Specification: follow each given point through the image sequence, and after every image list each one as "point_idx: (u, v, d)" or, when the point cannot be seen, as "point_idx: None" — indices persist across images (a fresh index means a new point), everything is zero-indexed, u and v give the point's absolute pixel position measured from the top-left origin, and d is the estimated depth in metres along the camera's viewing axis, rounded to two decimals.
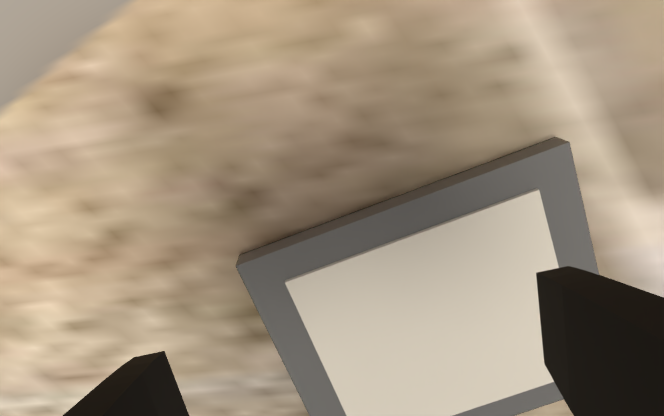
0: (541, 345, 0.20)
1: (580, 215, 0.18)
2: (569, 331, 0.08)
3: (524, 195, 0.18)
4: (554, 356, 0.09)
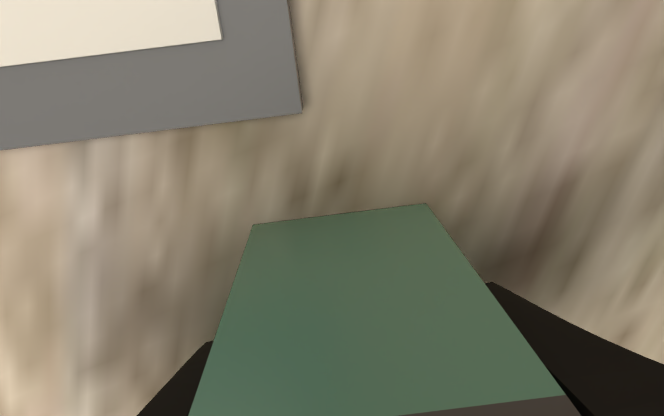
0: None
1: None
2: None
3: None
4: None
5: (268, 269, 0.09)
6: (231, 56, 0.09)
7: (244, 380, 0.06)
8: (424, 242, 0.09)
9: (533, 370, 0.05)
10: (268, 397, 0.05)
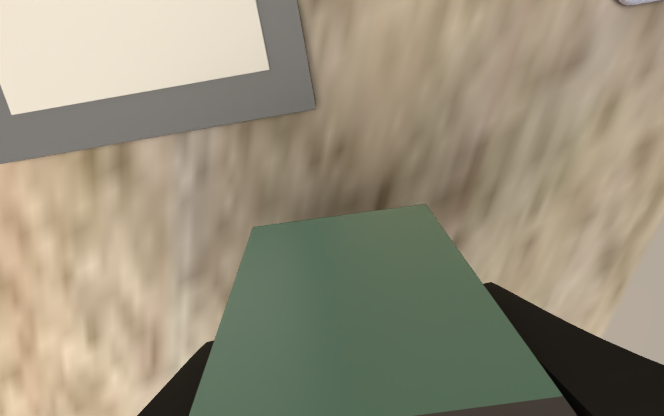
0: None
1: None
2: None
3: None
4: None
5: (268, 272, 0.09)
6: (274, 78, 0.16)
7: (243, 383, 0.06)
8: (423, 243, 0.09)
9: (531, 371, 0.05)
10: (266, 401, 0.06)
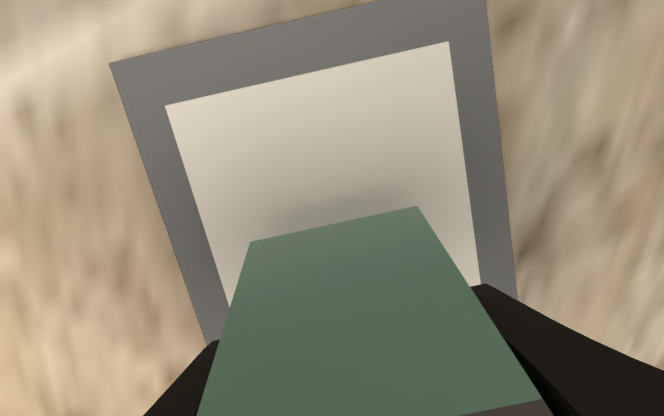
0: (390, 105, 0.15)
1: (208, 47, 0.14)
2: None
3: (172, 122, 0.15)
4: None
5: (265, 288, 0.09)
6: None
7: (239, 405, 0.06)
8: (414, 248, 0.09)
9: (513, 375, 0.06)
10: None
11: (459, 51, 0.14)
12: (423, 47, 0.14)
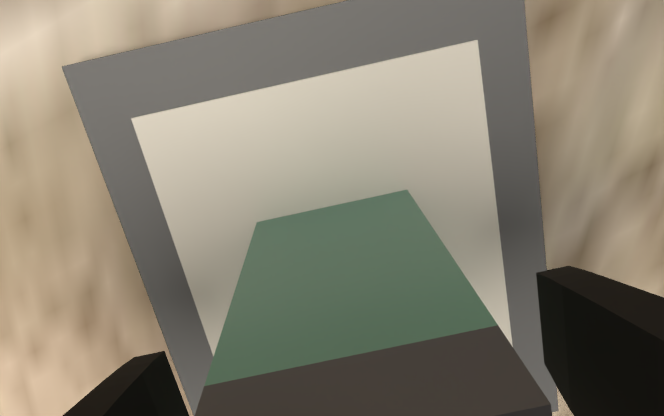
0: (406, 117, 0.12)
1: (183, 46, 0.12)
2: (569, 331, 0.08)
3: (141, 138, 0.12)
4: (554, 356, 0.09)
5: (270, 257, 0.10)
6: None
7: (252, 340, 0.07)
8: (402, 222, 0.10)
9: (476, 311, 0.07)
10: (271, 349, 0.07)
11: (490, 52, 0.12)
12: (446, 46, 0.12)
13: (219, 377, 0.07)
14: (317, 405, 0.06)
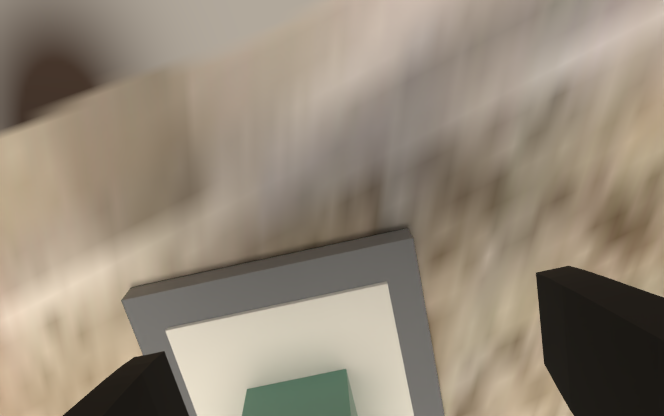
0: (343, 327, 0.18)
1: (199, 288, 0.18)
2: (569, 331, 0.08)
3: (171, 341, 0.18)
4: (554, 356, 0.09)
5: None
6: None
7: None
8: (335, 411, 0.17)
9: None
10: None
11: (396, 287, 0.18)
12: (368, 287, 0.18)
13: None
14: None
